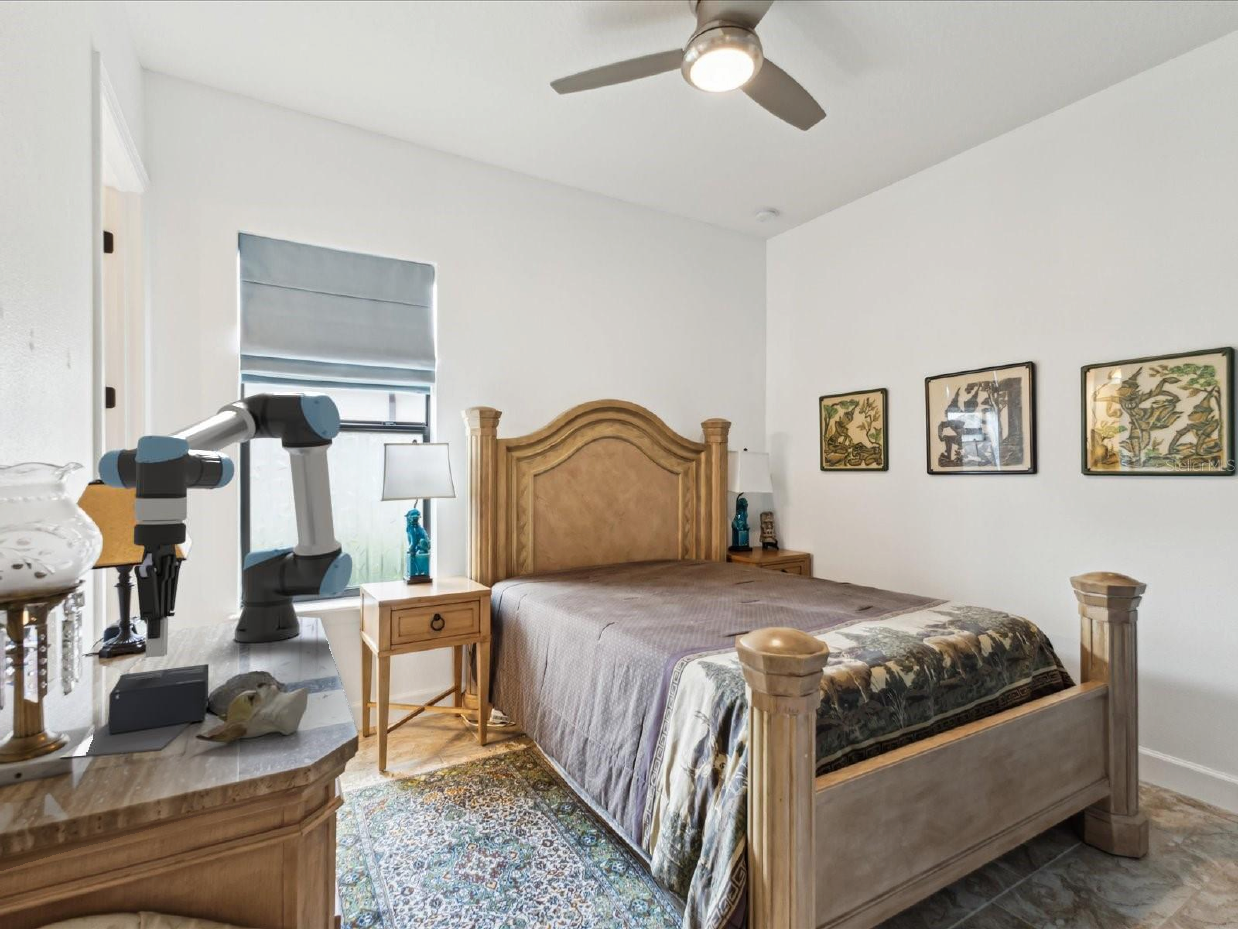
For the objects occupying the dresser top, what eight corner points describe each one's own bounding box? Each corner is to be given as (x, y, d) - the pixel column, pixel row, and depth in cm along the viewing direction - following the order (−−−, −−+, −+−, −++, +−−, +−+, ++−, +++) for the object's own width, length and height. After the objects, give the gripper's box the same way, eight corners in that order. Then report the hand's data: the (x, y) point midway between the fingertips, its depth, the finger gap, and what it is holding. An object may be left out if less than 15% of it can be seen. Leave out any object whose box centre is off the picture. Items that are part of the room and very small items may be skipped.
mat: (122, 715, 110) (122, 713, 110) (206, 708, 113) (206, 707, 113) (60, 758, 92) (60, 756, 92) (161, 749, 96) (161, 747, 96)
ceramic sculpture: (299, 687, 99) (191, 700, 95) (301, 742, 98) (193, 758, 95) (315, 668, 109) (218, 679, 105) (317, 718, 109) (220, 731, 105)
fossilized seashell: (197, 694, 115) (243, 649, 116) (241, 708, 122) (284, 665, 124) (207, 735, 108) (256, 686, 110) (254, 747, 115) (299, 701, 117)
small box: (119, 713, 110) (105, 736, 100) (120, 674, 110) (107, 692, 100) (208, 700, 117) (204, 720, 106) (209, 663, 117) (205, 679, 107)
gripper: (153, 520, 117) (149, 647, 117) (117, 524, 105) (112, 667, 104) (199, 520, 119) (195, 645, 118) (168, 524, 107) (164, 664, 106)
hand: (156, 655), depth 111 cm, fingers closed
